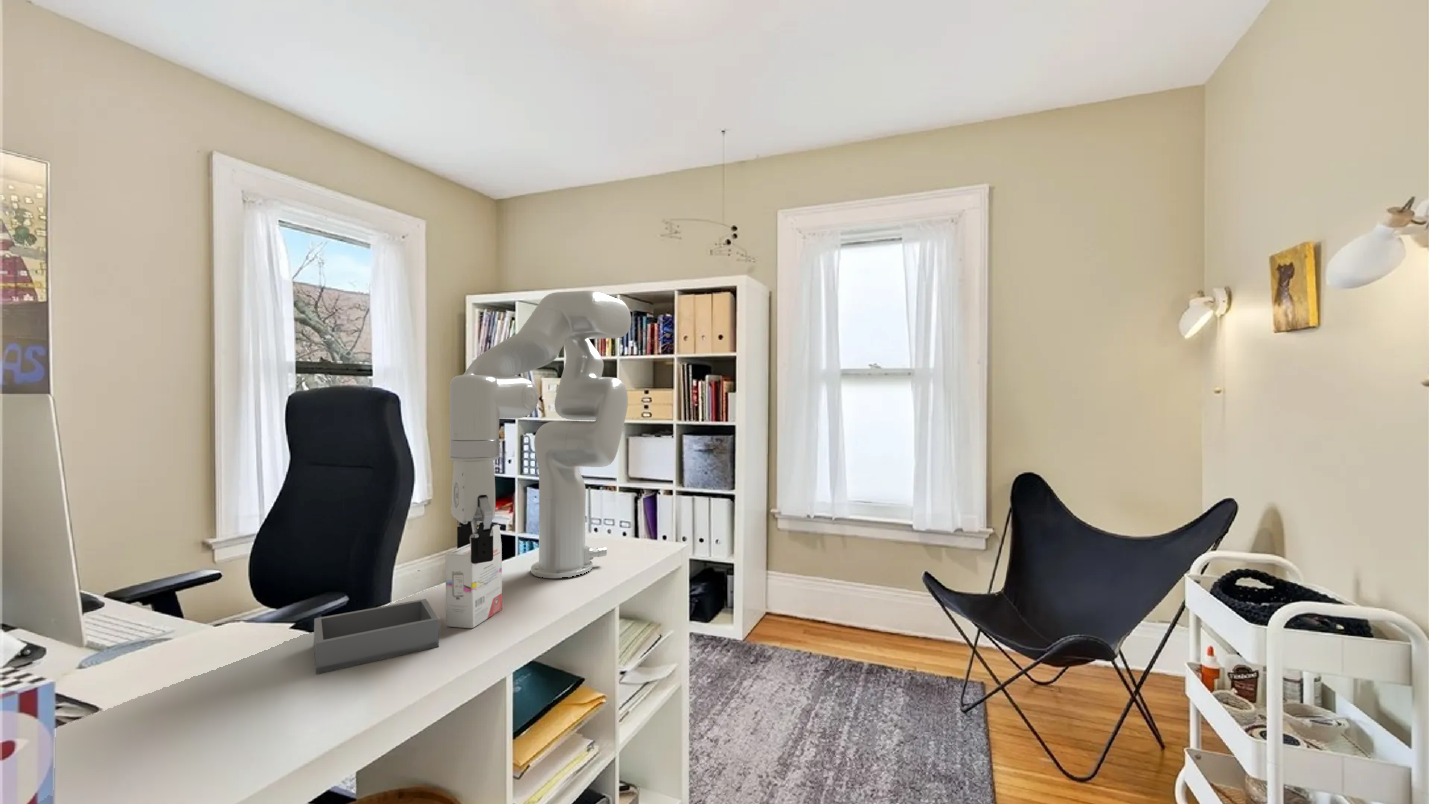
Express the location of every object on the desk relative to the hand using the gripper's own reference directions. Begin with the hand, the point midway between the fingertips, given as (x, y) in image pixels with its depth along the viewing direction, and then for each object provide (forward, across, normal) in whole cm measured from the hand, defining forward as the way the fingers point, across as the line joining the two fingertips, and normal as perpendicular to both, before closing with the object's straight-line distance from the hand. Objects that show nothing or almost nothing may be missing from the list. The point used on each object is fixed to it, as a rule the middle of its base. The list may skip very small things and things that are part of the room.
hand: (474, 555), depth 94 cm
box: (+10, +3, -14) cm, 18 cm away
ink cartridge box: (+11, 0, 0) cm, 11 cm away
